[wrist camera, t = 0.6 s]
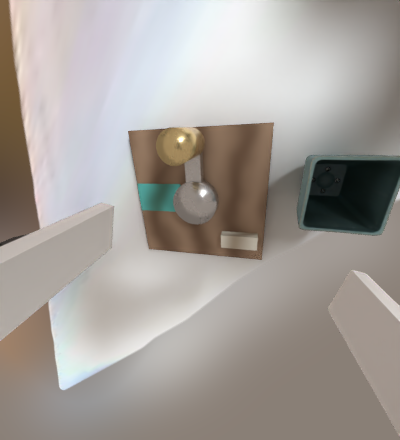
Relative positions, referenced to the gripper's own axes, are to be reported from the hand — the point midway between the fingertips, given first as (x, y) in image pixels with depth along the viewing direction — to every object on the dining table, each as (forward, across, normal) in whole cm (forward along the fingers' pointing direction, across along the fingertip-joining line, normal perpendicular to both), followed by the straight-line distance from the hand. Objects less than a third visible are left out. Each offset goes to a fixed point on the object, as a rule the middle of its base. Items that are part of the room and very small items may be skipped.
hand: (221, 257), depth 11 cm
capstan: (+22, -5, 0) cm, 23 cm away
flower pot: (+23, +13, +4) cm, 27 cm away
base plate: (+25, -4, -4) cm, 26 cm away
